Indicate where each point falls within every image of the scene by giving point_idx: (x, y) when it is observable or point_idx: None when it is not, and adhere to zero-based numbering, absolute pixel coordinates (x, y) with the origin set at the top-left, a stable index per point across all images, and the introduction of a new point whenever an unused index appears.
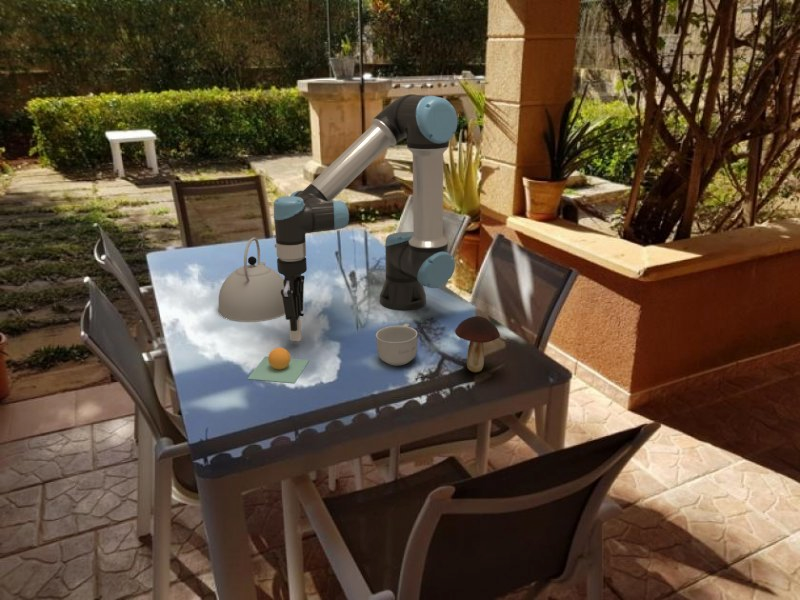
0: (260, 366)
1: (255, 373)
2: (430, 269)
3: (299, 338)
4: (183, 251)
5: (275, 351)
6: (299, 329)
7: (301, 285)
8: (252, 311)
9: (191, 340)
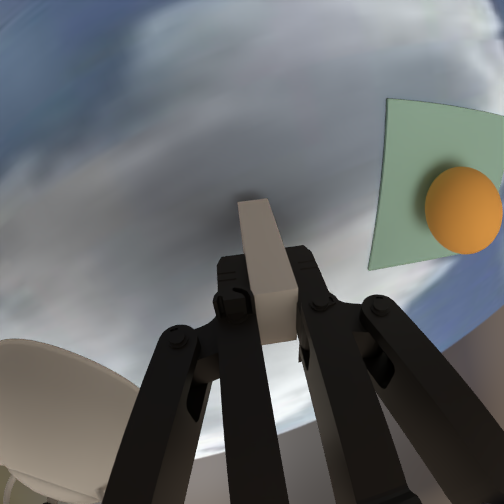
0: (431, 251)
1: None
2: None
3: (269, 208)
4: None
5: (495, 236)
6: (280, 237)
7: None
8: (130, 414)
9: (285, 417)
